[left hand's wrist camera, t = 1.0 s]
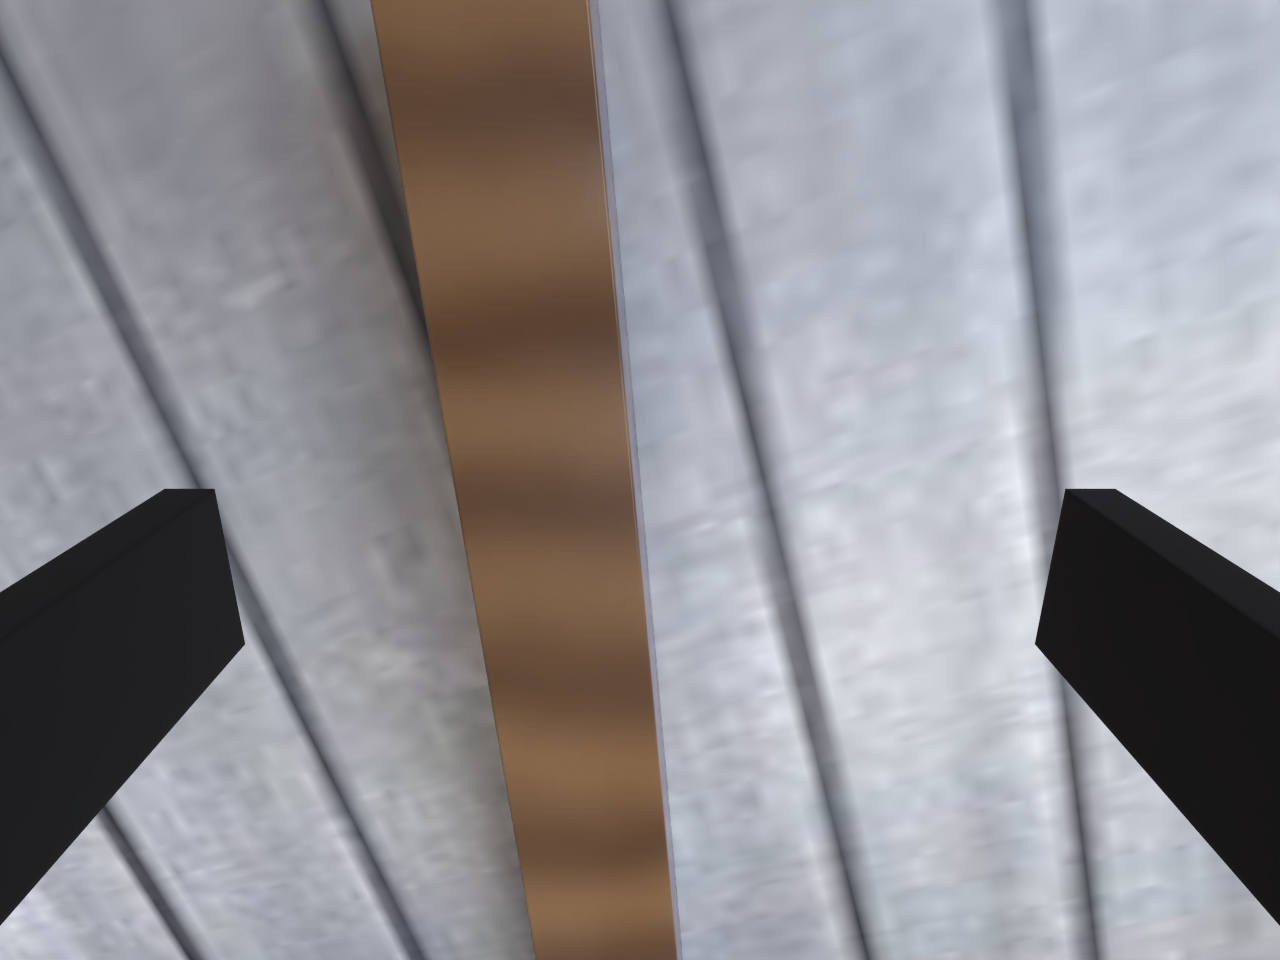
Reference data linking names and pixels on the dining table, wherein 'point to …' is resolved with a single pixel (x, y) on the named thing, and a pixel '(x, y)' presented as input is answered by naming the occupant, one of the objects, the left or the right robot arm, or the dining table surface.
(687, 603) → the dining table surface
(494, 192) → the beam
